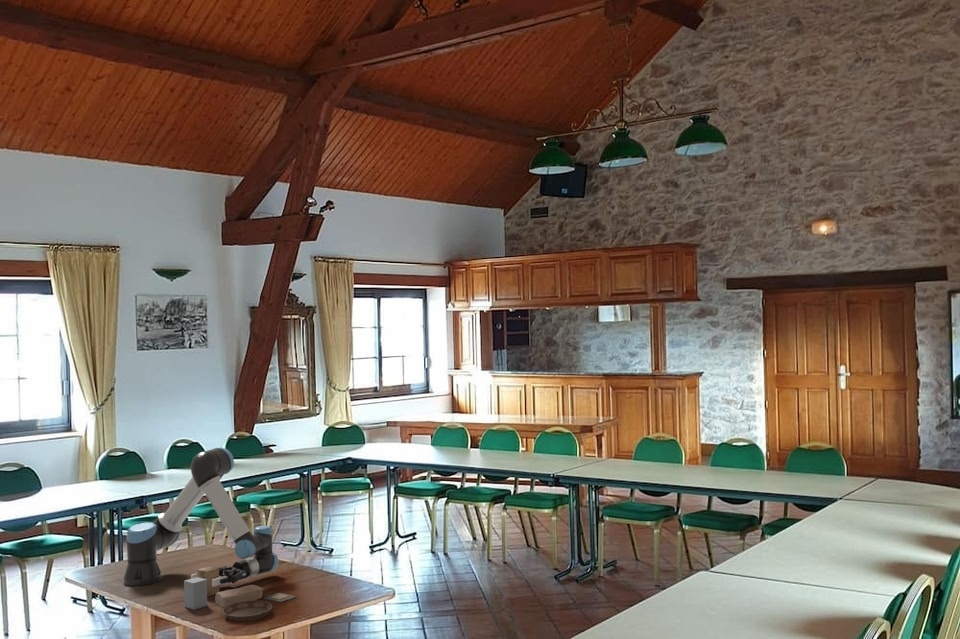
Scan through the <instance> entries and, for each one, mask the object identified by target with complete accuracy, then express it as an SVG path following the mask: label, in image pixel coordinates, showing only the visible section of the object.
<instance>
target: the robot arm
mask: <svg viewBox="0 0 960 639" xmlns="http://www.w3.org/2000/svg"><path fill="white" fill-rule="evenodd" d="M234 460H235V459H234V455H233V454H232V453H231V451H230V450H228V448H224V447H215V448H212V449H209V450H205V451H204V450H203V451H200V452H198V453H197V454H195V456H194V457H193V458H192V461H191V464H190V474H191V476H192V477H191V478H190V480H189V481H188V482H187V484H185V486H184V487H183V489H182V490H181V491H180V492H179V494H178V495H177V497H176V498H175V499H174V500H173V502H172V503H171V505H169V507H168V508H167V510H166V511H165V512H161V513H159V514H158V516H157V517H156V518H155V519H154V521H153V522H141V523H137V524H134V525H132V526H130V527H129V528H128V529H127V530H126V531H127V533H126V550H127V552H126V553H127V554H126V555H127V565H126V568H125V572H124V574H123V578H122V579H123V580H122V581H123V585H126V586H132V587H133V586H134V587H135V586H147V585H151V584H155V583H158V582H160V581H161V580H162V572H161V569H160V567H159V563H158V558H157V552H158V551H160V550H162V549H165V548H168V547H170V546H171V547H172V545H174V544H175V543H176V542H177V541H178V539H180V536H181V531H182V529H183V525H182V524H183V523H184V521H185V520H186V519H187V518H188V516H189V515H190V514H191V512H192V511H193V510H194V508H195V507H196V506H197V504H198V503H199V502H200V500H201V499H202V498H203V496H204V495H205V497H206V498H207V500H208V501H209V502H210V504H211V506H212V508H213V510H214V511H215V513H216V514H217V516H218V517H219V519H220V521H221V523H222V525H223V526H224V528H226V531H227V532H228V534H229V535H230V537H231V539H232V540H233V542H234V544H235V546H234V554H235V555H236V556H237V557H238V558H240V559H241V560H238V561H235V562H234V563H233V564H232V566H219V567H217V568H219V578H216V579H212V587H214V586H218V585H219V586H221V585H224V584H225V585H226V584H227V583H228V584H229V583H231V584H235V583H237V582H239V581H241V580H244V579H247V578H252V577H254V576H255V577H256V576H258V575H261V574H265V573H269V572H272V571H275V570H276V569H277V568H278V567H279V562H280V561H279V557H278V555H277V554H276V553H275V552H273V536H274V535H273V529H272V527H271V526H269V525H259V526H255V527H254V529H253V533H252V532H251V530H250V528H249V527H248V526H247V524H246V522H245V520H244V519H243V517H242V515H241V514H240V512H239V510H238V509H237V507H236V506H235V503H234V502H233V500H232V499H231V497H230V495H229V494H228V492H227V490H226V489H225V488H224V485H223V484H222V482H221V479H222V478H223V476H224V475H226V474H228V473H230V472H231V471H232V470H233V468H234V466H235V461H234ZM196 577H197V572H196V573H193V574H191V575H190V579H192V578H196Z"/></svg>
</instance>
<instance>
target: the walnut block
mask: <svg viewBox="0 0 960 639" xmlns="http://www.w3.org/2000/svg"><path fill="white" fill-rule="evenodd" d="M196 573H197V577H199V578H203V579H207V596H208V597H210V596H211V595H212V596H215V595H216V593H217V592H220V585H218V586H214V587H212V579H216V578H220V576H219V568H218V567H214V566H211V565H209V566H205V567H201V568H198V569H196ZM214 594H215V595H214ZM212 596H211V597H212Z"/></svg>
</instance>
